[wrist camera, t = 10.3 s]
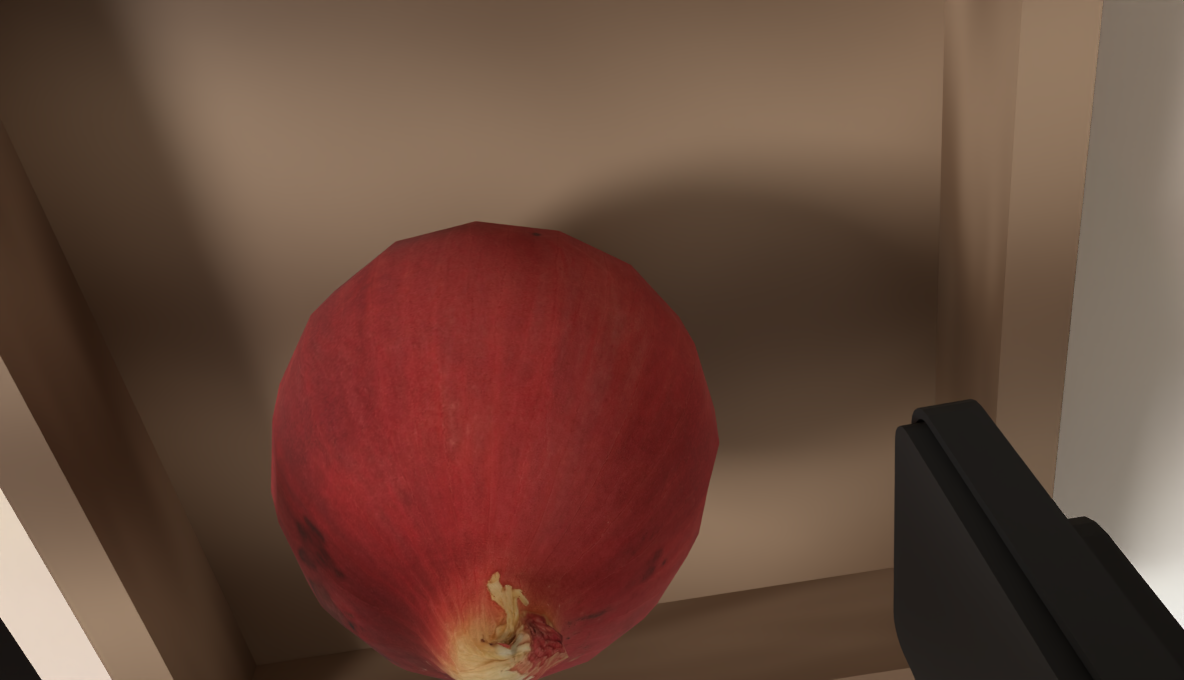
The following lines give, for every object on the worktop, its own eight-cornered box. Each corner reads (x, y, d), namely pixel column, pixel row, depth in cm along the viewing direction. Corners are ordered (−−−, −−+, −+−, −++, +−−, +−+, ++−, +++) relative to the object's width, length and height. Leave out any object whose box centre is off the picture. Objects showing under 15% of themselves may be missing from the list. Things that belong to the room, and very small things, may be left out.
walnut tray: (-144, -122, 13) (-342, -100, 10) (998, -330, 13) (1141, -369, 10) (238, 668, 21) (189, 812, 18) (960, 556, 21) (1033, 687, 18)
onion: (574, 497, 18) (605, 927, 11) (277, 384, 17) (99, 803, 10) (736, 243, 16) (905, 585, 9) (410, 83, 14) (302, 346, 7)
